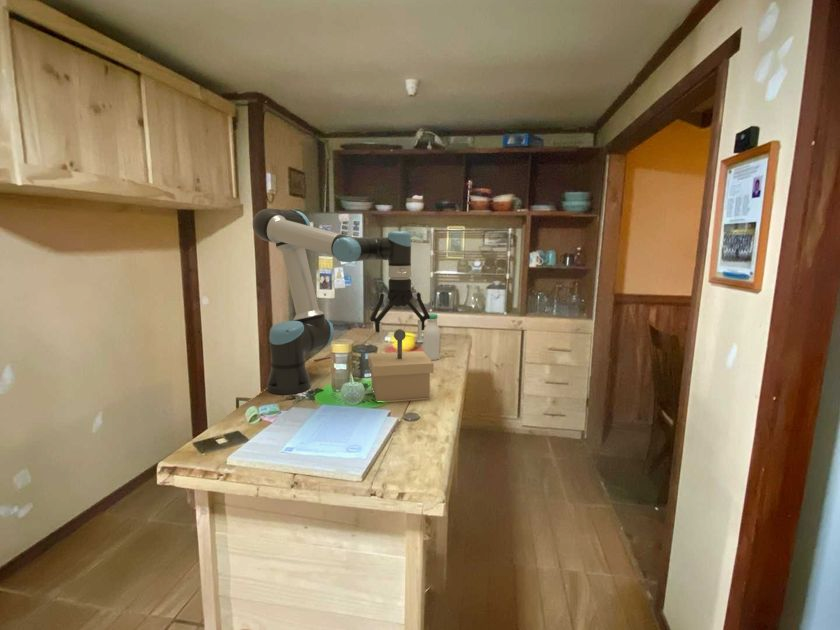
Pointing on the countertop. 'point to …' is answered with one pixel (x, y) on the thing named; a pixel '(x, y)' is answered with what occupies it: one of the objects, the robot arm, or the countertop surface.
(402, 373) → the carton lid
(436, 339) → the milk bottle
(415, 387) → the carton
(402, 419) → the countertop surface
